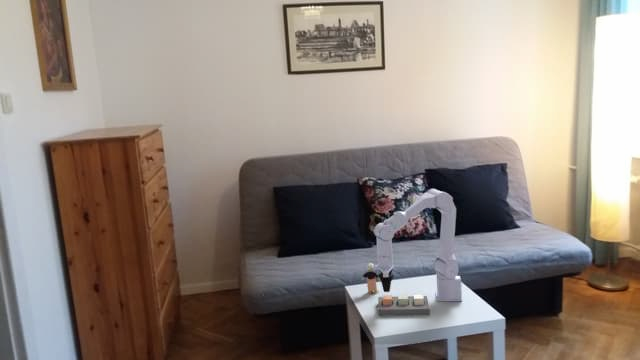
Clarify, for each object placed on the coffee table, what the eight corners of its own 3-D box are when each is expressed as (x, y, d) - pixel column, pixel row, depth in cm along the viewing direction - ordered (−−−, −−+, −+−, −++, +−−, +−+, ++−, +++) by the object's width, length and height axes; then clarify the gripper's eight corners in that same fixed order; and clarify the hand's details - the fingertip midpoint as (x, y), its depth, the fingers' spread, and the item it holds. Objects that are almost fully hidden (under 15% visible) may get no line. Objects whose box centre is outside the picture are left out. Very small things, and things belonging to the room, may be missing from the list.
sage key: (407, 301, 197) (407, 295, 196) (408, 305, 193) (407, 298, 193) (398, 302, 197) (397, 295, 197) (398, 305, 194) (398, 299, 193)
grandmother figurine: (380, 290, 215) (379, 261, 213) (380, 293, 211) (379, 264, 209) (362, 290, 216) (360, 262, 214) (362, 294, 212) (360, 265, 210)
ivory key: (423, 301, 196) (423, 294, 195) (424, 305, 192) (423, 298, 192) (413, 301, 196) (413, 294, 196) (414, 305, 193) (414, 298, 192)
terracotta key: (392, 302, 197) (391, 295, 197) (392, 306, 194) (391, 299, 193) (382, 302, 198) (382, 295, 197) (382, 306, 194) (382, 299, 194)
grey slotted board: (427, 301, 200) (426, 295, 200) (429, 315, 188) (429, 308, 188) (378, 302, 203) (378, 296, 202) (378, 315, 191) (378, 309, 190)
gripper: (374, 249, 200) (376, 281, 202) (374, 261, 186) (376, 296, 188) (392, 248, 199) (394, 281, 201) (393, 260, 185) (395, 295, 187)
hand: (386, 288), depth 195 cm, fingers open, 6 cm apart
